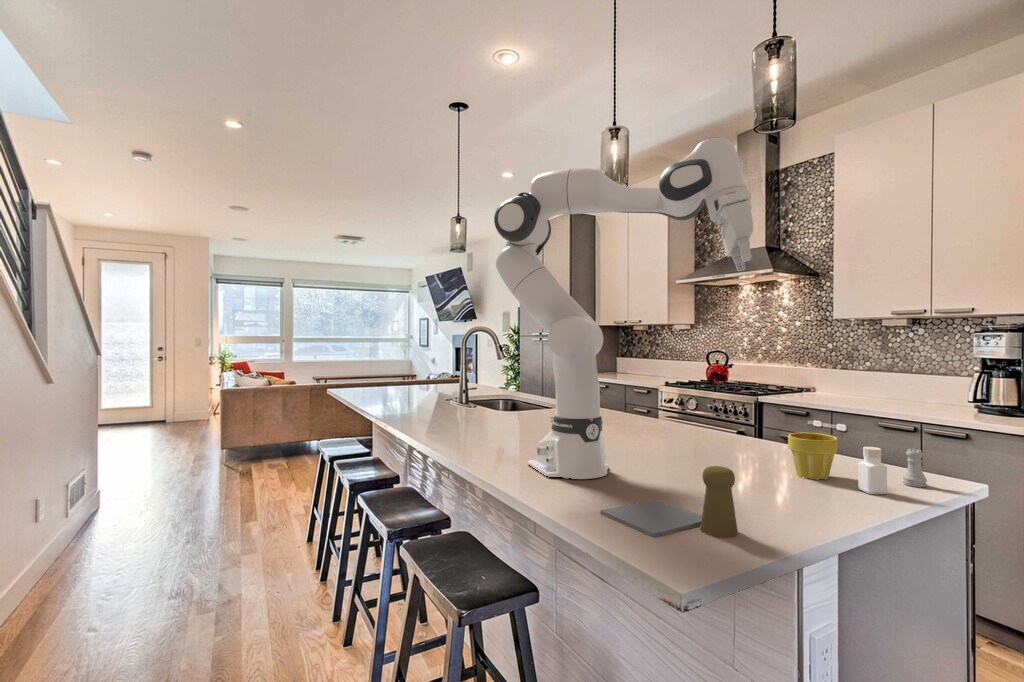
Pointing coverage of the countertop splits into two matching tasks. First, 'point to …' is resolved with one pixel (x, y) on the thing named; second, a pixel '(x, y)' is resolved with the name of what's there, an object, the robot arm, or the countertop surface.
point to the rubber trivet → (654, 517)
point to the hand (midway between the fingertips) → (744, 265)
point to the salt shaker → (872, 472)
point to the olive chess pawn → (719, 503)
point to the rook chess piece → (914, 469)
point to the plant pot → (812, 454)
